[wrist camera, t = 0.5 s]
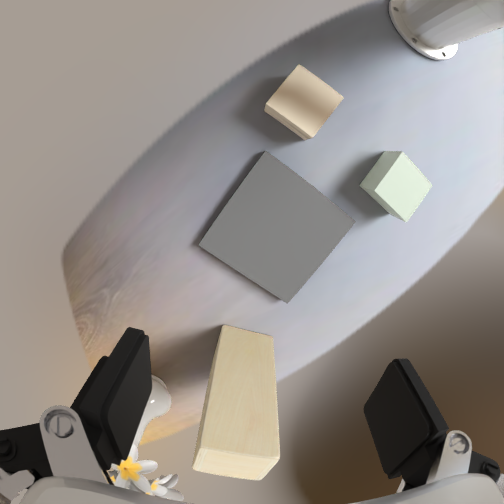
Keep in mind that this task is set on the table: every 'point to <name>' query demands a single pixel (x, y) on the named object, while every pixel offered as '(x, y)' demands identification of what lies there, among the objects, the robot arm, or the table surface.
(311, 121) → the birch block
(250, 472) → the toy refrigerator
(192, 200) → the table surface
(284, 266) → the base plate
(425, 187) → the sage block
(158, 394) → the flower vase
